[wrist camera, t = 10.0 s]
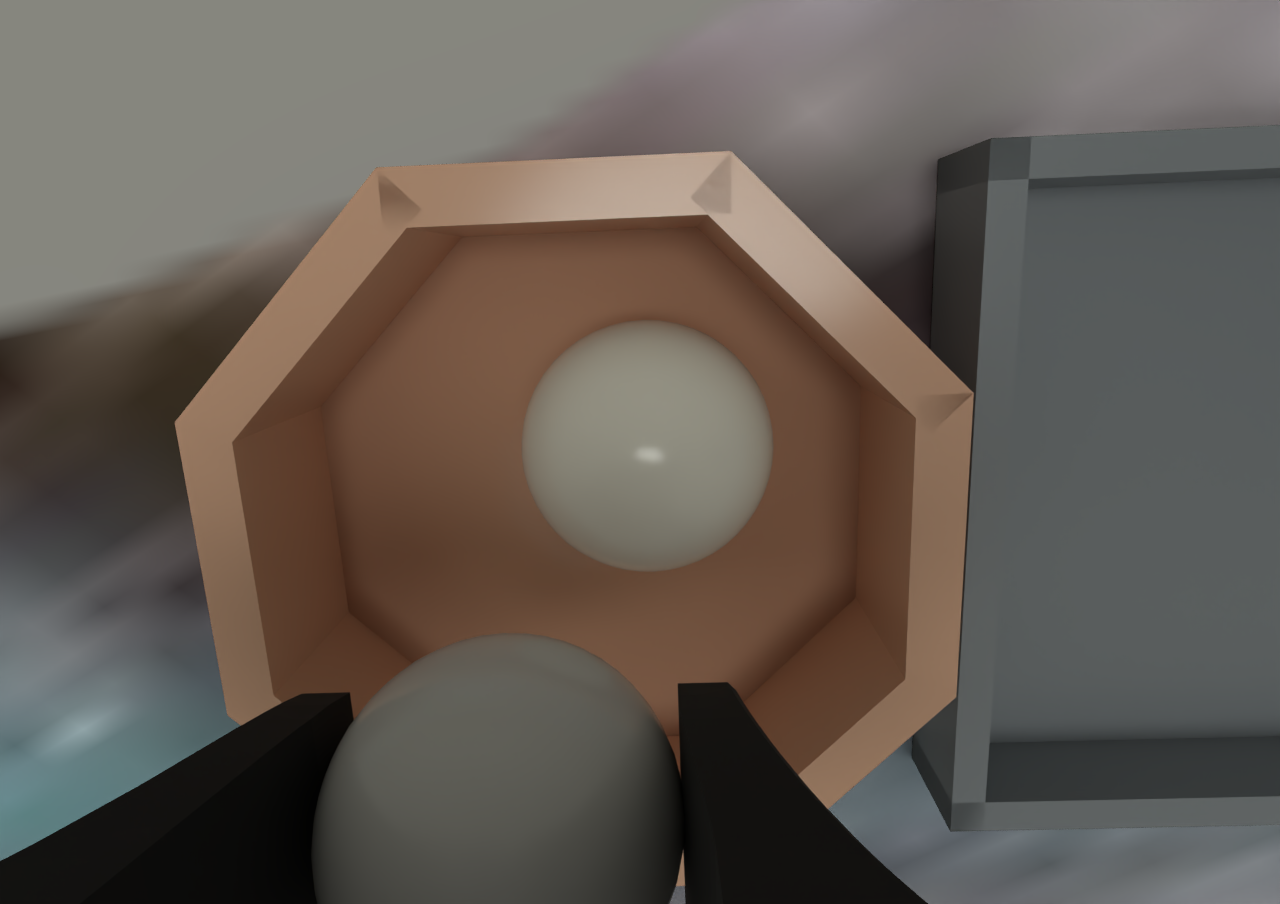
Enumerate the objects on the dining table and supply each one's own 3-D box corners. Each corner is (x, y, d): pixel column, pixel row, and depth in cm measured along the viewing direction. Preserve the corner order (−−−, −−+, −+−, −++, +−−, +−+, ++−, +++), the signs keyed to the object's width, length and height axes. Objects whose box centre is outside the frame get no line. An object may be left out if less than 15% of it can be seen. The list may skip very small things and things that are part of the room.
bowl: (903, 172, 14) (988, 139, 10) (883, 750, 16) (946, 881, 13) (261, 201, 14) (131, 178, 11) (343, 763, 17) (259, 893, 13)
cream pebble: (746, 309, 14) (804, 322, 10) (746, 519, 15) (800, 607, 11) (524, 317, 14) (496, 334, 10) (538, 530, 15) (518, 622, 11)
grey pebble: (669, 572, 10) (692, 760, 6) (680, 836, 11) (706, 1143, 7) (364, 586, 10) (196, 783, 6) (400, 848, 11) (273, 1161, 7)
